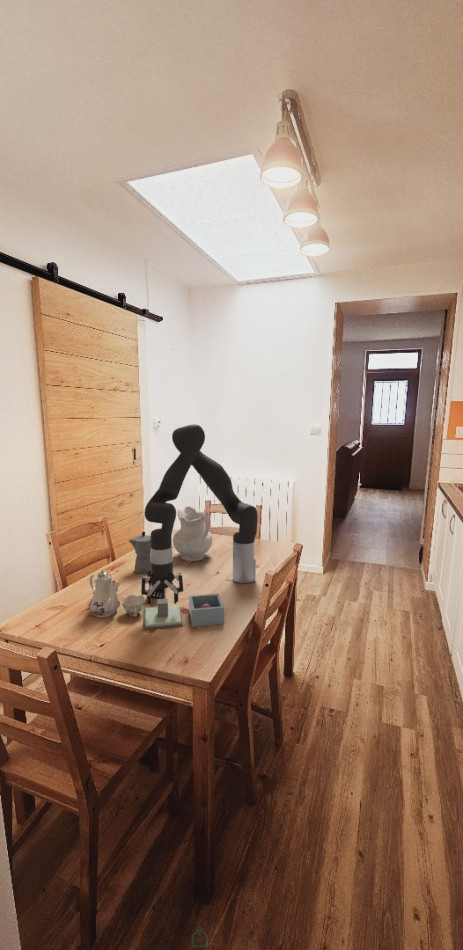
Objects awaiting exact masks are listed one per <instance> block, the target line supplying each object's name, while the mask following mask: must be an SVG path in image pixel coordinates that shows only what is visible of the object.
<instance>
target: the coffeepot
mask: <svg viewBox="0 0 463 950" xmlns="http://www.w3.org/2000/svg"><path fill="white" fill-rule="evenodd" d="M128 542H129V543H130V544H131V546H132V547H133V548H134V552H135V554H136V558H135V565H134V571H133V572H135V573H136V574H139V575H145V574H146V575H147V572H148V571H149V570H150V569H151V561H150V552H151V534H149V535H147V534H146V531H142V532H141V535H138V536H135V537H134V538H131V539H129V540H128Z"/></svg>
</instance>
